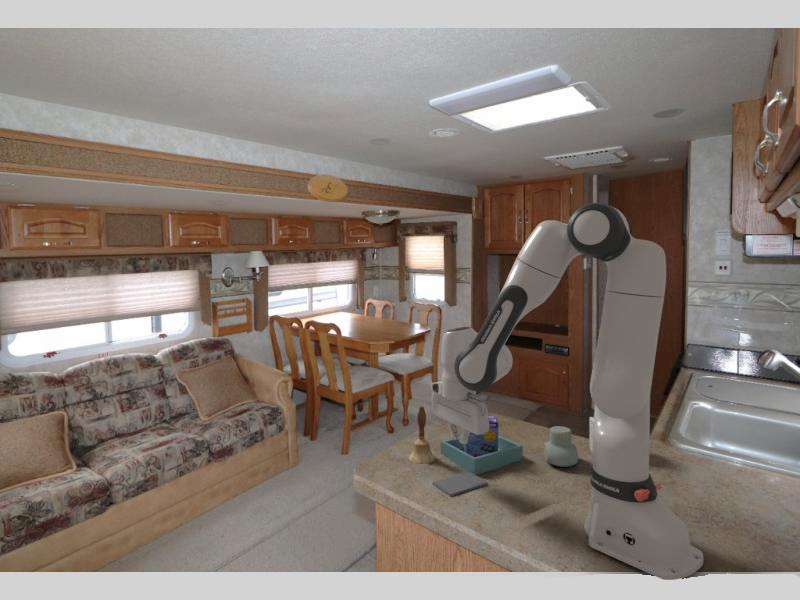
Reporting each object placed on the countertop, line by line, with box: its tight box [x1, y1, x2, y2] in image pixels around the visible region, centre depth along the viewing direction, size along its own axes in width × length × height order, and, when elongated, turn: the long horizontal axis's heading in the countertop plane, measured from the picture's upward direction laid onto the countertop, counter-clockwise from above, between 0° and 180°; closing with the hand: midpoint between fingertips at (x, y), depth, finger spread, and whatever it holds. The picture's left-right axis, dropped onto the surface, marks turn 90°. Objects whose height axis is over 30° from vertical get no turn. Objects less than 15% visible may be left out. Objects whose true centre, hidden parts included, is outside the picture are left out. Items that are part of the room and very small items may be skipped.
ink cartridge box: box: [463, 415, 499, 457], centre depth 136 cm, size 10×6×14 cm, turn 87°
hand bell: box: [408, 406, 436, 465], centre depth 137 cm, size 8×8×16 cm
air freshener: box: [543, 425, 579, 468], centre depth 132 cm, size 11×8×10 cm
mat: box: [432, 471, 489, 497], centre depth 120 cm, size 8×12×1 cm, turn 120°
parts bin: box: [440, 434, 524, 476], centre depth 137 cm, size 16×18×4 cm
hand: (459, 441), depth 120 cm, fingers closed
